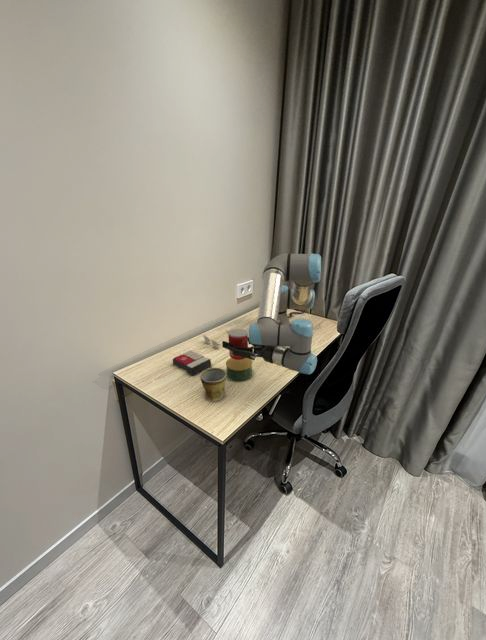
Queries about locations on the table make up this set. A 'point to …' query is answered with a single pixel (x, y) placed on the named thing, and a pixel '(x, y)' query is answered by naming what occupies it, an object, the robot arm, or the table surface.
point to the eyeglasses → (212, 340)
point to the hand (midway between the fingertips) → (229, 340)
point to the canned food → (238, 340)
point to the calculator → (192, 362)
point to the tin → (239, 369)
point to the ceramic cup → (213, 383)
